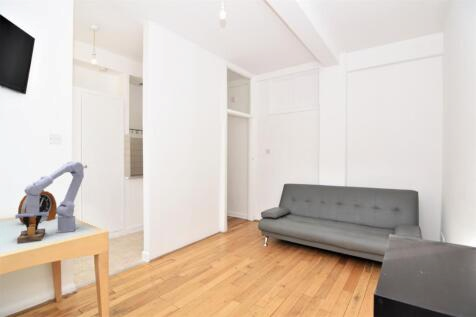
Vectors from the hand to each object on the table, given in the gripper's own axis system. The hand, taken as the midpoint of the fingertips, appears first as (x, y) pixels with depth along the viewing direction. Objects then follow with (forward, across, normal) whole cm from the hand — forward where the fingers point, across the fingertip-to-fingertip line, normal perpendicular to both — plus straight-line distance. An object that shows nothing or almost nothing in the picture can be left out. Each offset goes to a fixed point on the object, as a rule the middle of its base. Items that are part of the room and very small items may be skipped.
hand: (32, 229), depth 139 cm
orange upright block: (+3, 0, 0) cm, 3 cm away
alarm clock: (+5, -2, +42) cm, 42 cm away
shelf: (+5, 0, 0) cm, 5 cm away
